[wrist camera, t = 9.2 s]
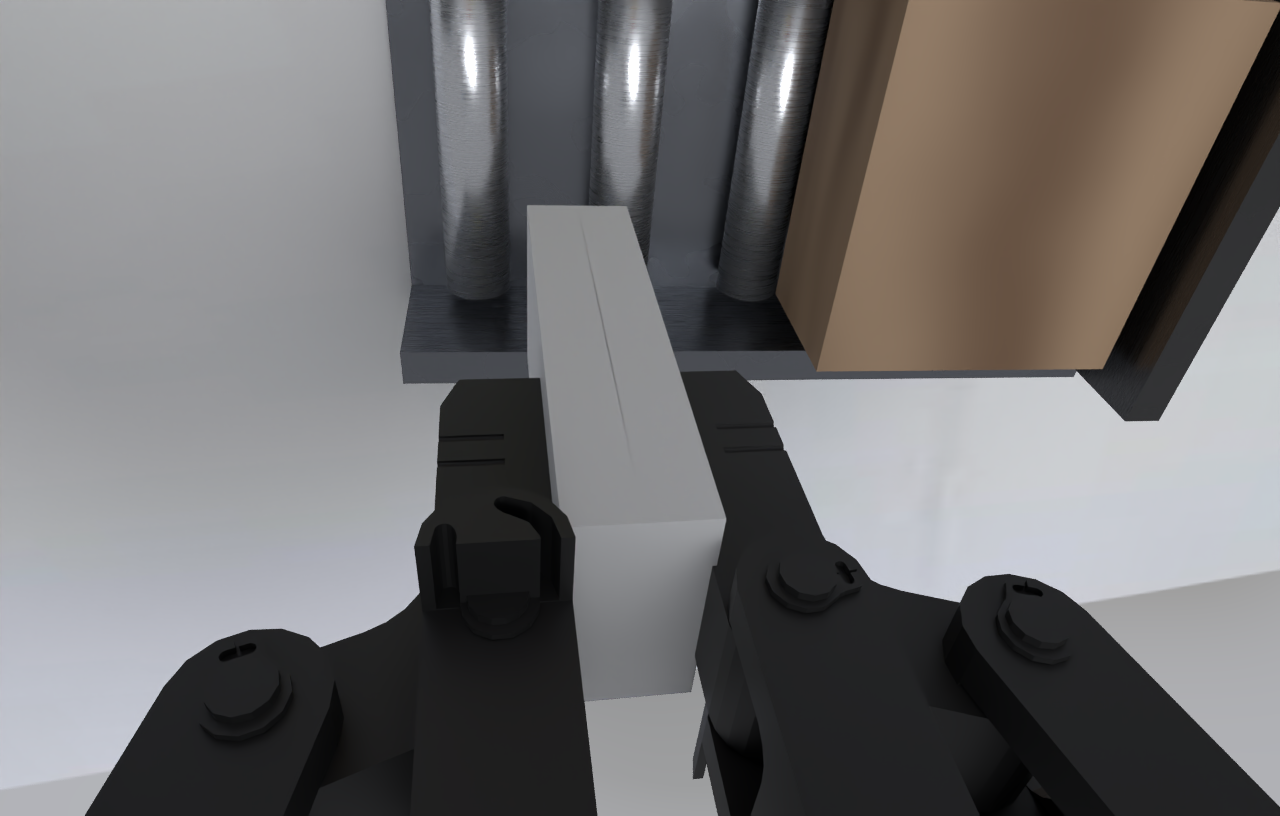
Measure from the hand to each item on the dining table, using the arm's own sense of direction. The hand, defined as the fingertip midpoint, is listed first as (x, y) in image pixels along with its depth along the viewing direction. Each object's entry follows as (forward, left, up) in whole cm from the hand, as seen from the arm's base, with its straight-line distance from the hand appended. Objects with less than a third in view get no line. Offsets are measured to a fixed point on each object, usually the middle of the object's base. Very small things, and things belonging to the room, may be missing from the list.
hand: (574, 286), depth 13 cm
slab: (+11, -1, -9) cm, 14 cm away
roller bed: (+6, -1, -12) cm, 13 cm away
